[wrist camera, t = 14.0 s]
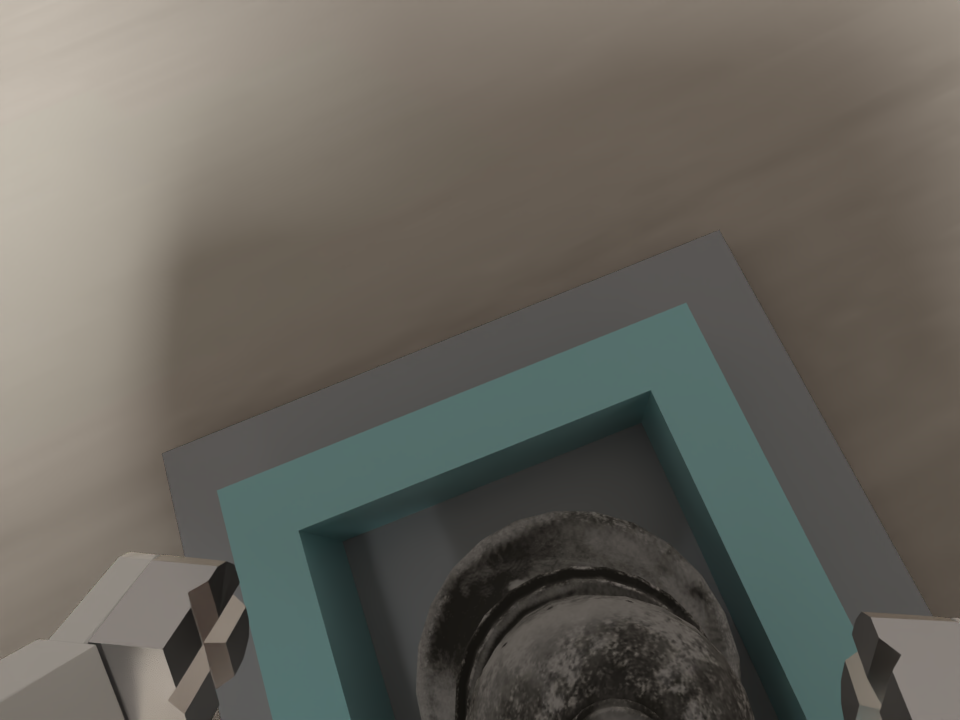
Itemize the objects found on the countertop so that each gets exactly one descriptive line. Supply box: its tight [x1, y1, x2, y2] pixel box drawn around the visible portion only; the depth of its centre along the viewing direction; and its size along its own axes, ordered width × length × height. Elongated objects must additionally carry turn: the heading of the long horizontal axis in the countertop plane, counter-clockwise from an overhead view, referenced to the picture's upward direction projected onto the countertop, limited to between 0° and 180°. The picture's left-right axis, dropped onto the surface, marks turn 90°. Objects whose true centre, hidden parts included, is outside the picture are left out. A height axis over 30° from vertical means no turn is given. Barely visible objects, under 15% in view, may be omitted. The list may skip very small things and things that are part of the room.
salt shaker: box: [416, 511, 755, 720], centre depth 11 cm, size 6×6×12 cm
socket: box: [162, 230, 932, 720], centre depth 16 cm, size 16×16×4 cm
